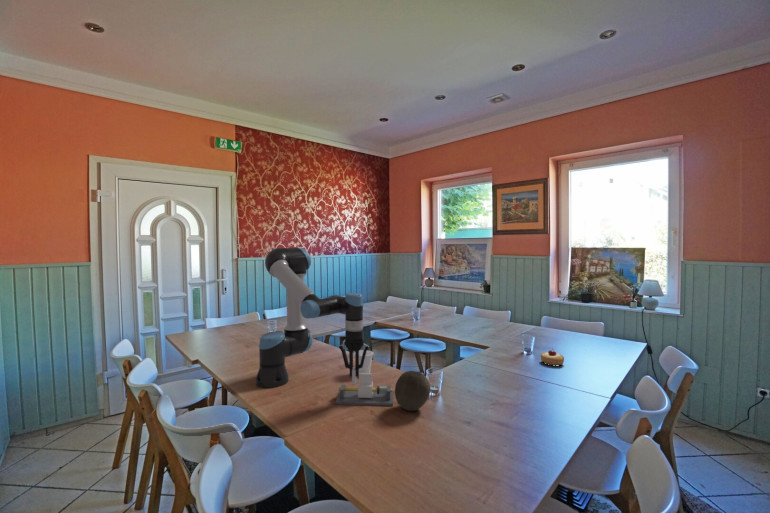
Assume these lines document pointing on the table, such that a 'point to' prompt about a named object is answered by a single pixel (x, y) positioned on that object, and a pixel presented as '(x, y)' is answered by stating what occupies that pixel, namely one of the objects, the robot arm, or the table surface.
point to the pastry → (552, 358)
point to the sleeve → (365, 385)
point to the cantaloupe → (412, 390)
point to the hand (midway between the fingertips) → (354, 383)
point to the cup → (365, 361)
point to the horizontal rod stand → (350, 397)
